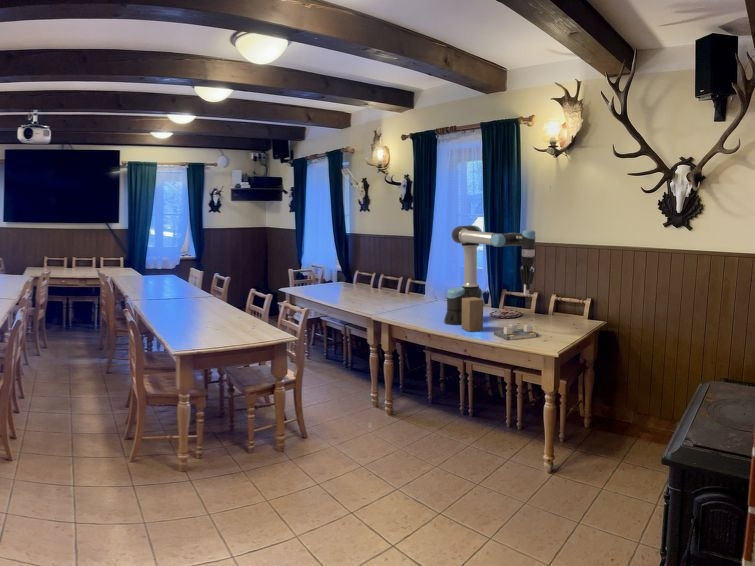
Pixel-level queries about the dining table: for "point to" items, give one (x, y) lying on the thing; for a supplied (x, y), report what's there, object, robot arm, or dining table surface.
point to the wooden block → (472, 314)
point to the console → (516, 334)
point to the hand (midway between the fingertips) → (526, 294)
